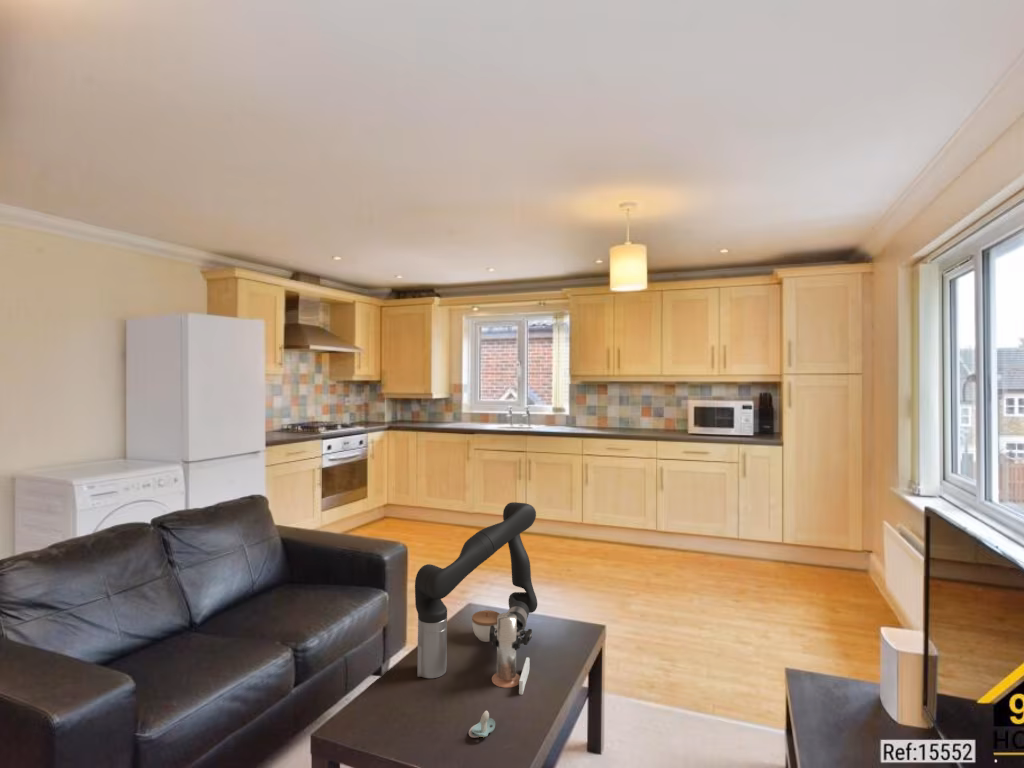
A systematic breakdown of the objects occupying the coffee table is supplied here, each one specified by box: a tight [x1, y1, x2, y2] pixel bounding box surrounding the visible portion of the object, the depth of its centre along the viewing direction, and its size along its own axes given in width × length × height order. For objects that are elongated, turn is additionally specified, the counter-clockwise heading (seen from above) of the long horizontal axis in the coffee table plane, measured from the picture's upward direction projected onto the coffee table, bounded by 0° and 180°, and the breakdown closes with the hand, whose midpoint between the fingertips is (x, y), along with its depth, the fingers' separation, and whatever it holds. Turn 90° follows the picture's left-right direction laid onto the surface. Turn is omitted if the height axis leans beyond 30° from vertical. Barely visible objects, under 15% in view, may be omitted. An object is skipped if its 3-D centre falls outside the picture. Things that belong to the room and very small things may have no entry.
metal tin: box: [496, 612, 517, 680], centre depth 169 cm, size 6×6×18 cm
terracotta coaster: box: [491, 672, 521, 689], centre depth 169 cm, size 9×9×1 cm
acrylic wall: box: [518, 656, 531, 696], centre depth 168 cm, size 14×1×4 cm, turn 170°
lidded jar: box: [471, 609, 501, 643], centre depth 196 cm, size 11×11×9 cm
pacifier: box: [468, 710, 496, 738], centre depth 143 cm, size 7×6×6 cm
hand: (505, 646), depth 167 cm, fingers closed on metal tin, 6 cm apart
